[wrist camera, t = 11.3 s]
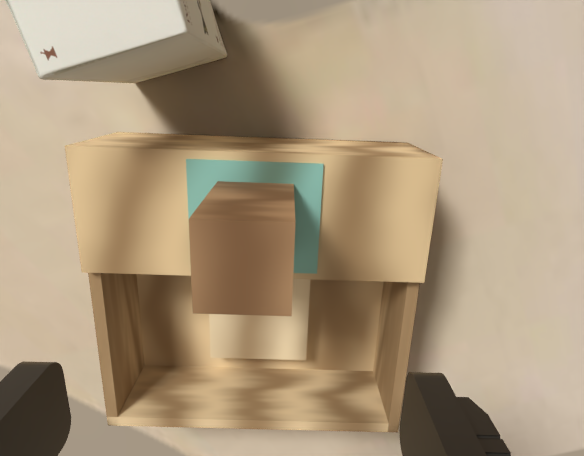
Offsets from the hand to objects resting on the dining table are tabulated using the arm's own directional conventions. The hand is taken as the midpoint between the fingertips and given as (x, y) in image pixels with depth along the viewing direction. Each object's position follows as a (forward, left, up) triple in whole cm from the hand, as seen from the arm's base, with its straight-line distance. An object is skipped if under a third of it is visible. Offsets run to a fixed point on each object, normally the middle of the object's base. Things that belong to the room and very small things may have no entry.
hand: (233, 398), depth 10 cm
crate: (+1, +7, -24) cm, 25 cm away
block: (+1, +1, -16) cm, 16 cm away
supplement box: (+8, -11, -25) cm, 28 cm away
